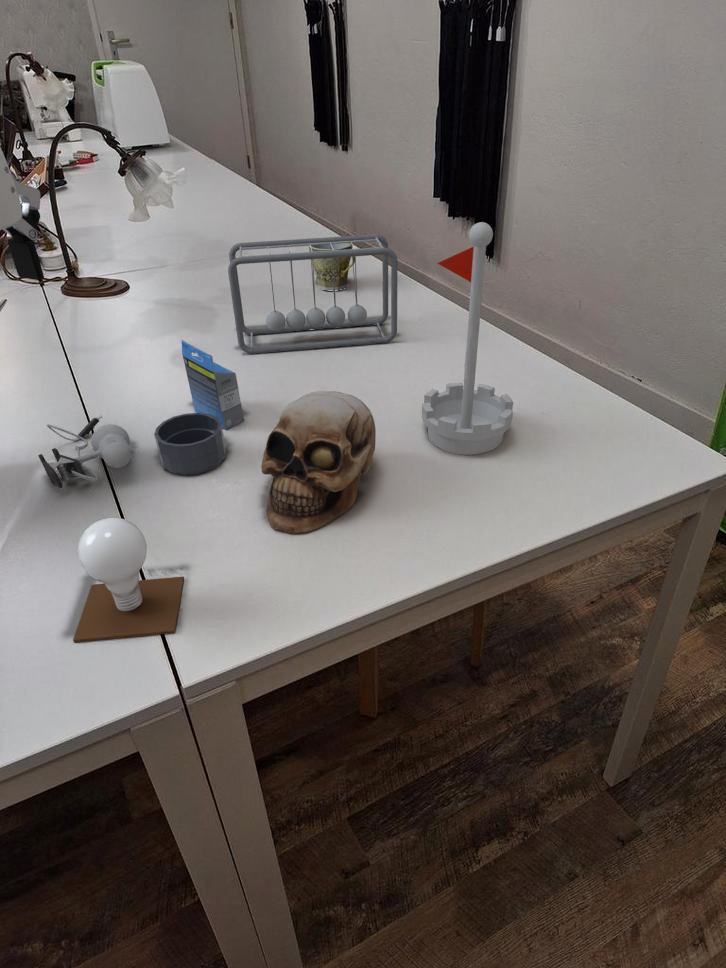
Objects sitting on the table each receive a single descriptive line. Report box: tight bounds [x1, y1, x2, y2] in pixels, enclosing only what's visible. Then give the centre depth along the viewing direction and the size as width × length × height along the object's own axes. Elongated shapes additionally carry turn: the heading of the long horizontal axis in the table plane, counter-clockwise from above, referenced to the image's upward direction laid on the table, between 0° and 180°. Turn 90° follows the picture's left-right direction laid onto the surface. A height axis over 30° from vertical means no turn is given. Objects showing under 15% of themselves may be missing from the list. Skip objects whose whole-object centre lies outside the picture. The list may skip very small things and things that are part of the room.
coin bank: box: [260, 390, 377, 534], centre depth 83 cm, size 16×17×13 cm
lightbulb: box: [77, 517, 148, 611], centre depth 66 cm, size 6×6×11 cm
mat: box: [72, 576, 185, 644], centre depth 69 cm, size 10×8×1 cm
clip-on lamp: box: [37, 415, 133, 490], centre depth 91 cm, size 12×6×18 cm
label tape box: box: [180, 338, 245, 430], centre depth 99 cm, size 9×4×12 cm, turn 44°
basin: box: [153, 412, 227, 476], centre depth 91 cm, size 9×9×5 cm
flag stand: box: [421, 221, 514, 456], centre depth 88 cm, size 13×13×30 cm
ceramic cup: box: [308, 243, 355, 291], centre depth 149 cm, size 13×10×10 cm
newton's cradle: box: [227, 233, 399, 355], centre depth 123 cm, size 30×10×18 cm, turn 98°
